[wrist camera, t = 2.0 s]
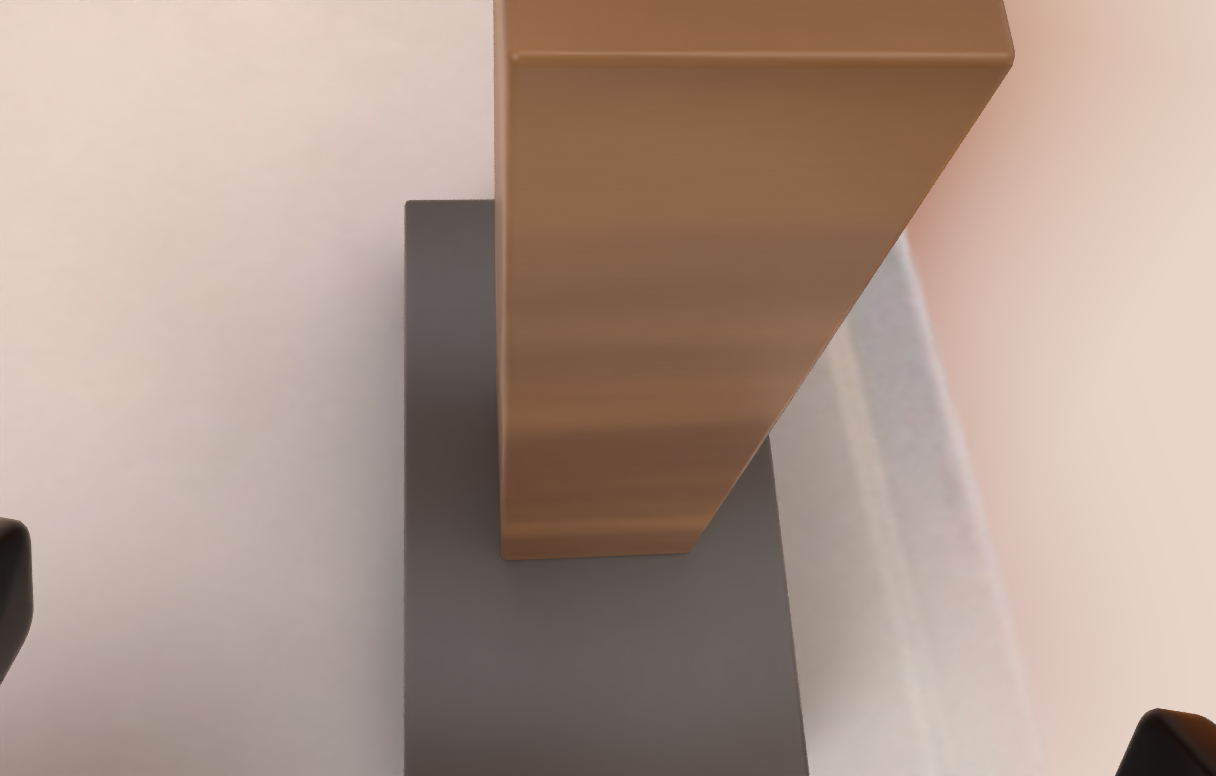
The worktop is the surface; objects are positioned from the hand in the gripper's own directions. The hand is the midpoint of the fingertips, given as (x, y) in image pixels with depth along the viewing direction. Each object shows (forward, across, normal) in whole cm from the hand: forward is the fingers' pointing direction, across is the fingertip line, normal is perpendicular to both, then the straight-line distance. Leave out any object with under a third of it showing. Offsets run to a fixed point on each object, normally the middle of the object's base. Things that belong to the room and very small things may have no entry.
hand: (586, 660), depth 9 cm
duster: (+11, 0, +5) cm, 12 cm away
